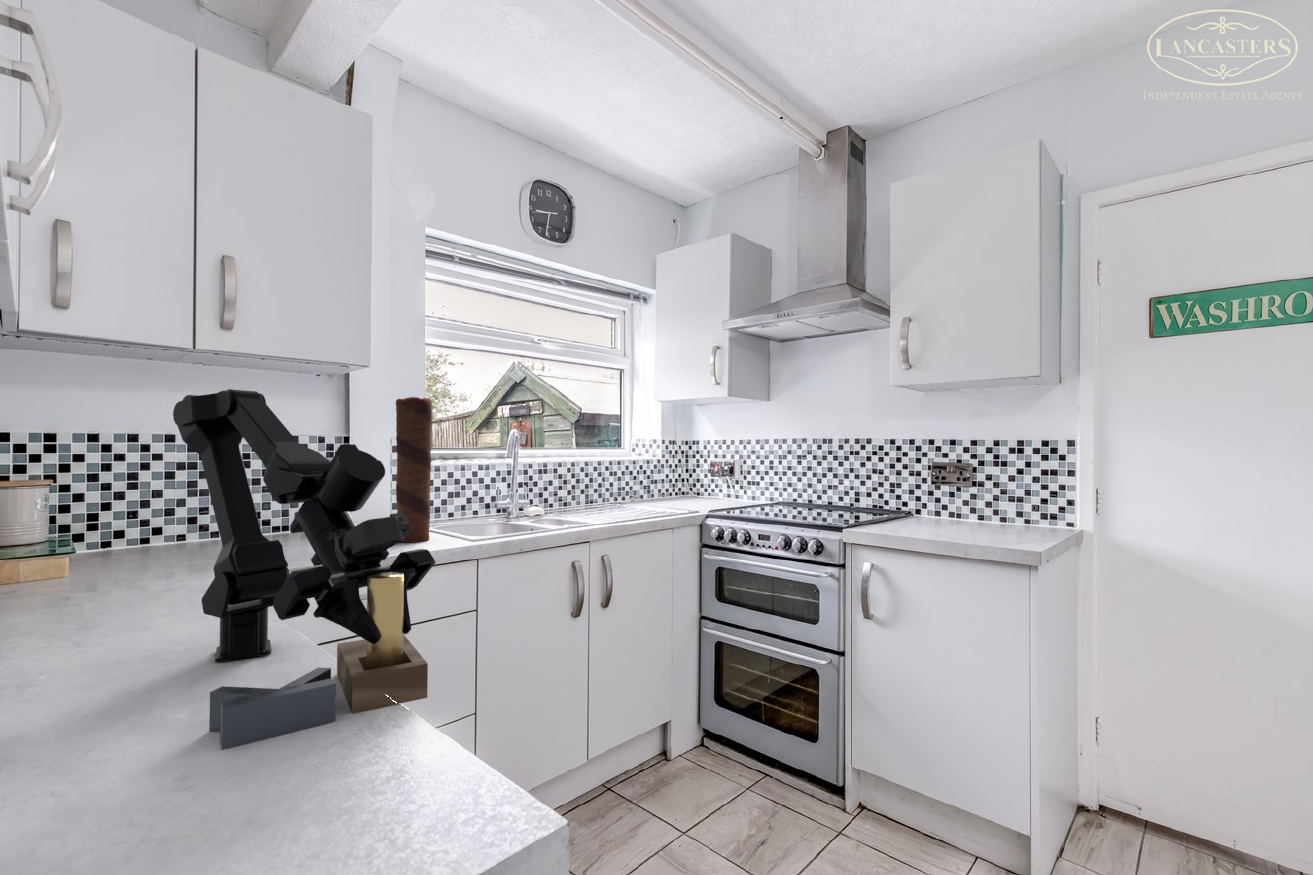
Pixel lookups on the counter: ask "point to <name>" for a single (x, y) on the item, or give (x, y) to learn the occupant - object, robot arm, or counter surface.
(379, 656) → the brass axle
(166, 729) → the counter surface
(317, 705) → the steel V-block
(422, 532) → the wafer roll
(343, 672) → the wooden socket block
